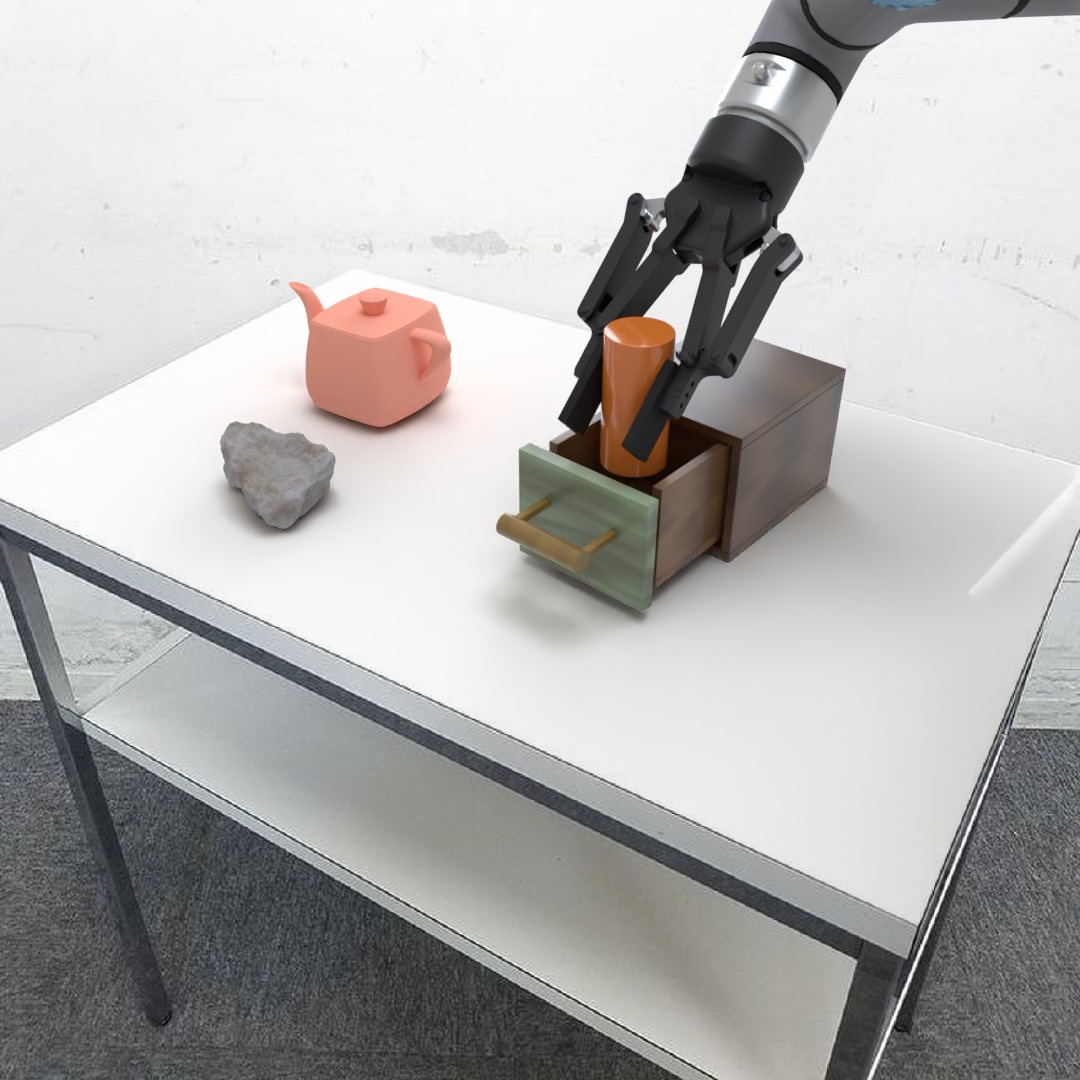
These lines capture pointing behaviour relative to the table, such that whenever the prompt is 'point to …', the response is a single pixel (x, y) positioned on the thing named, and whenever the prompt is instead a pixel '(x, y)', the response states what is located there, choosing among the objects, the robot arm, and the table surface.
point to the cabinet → (768, 436)
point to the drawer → (619, 511)
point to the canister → (631, 389)
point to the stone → (276, 471)
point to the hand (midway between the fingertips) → (601, 440)
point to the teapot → (374, 354)
